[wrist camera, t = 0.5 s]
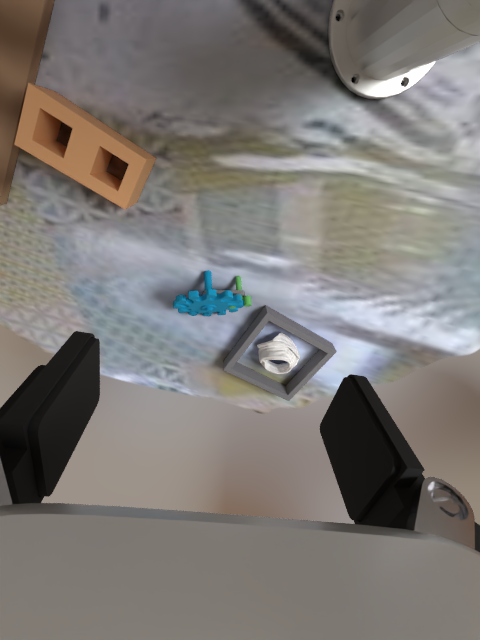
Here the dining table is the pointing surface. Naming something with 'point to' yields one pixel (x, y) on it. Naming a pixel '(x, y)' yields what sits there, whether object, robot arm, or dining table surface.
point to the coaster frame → (264, 382)
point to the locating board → (18, 72)
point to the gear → (212, 299)
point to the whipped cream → (278, 354)
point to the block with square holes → (81, 146)
